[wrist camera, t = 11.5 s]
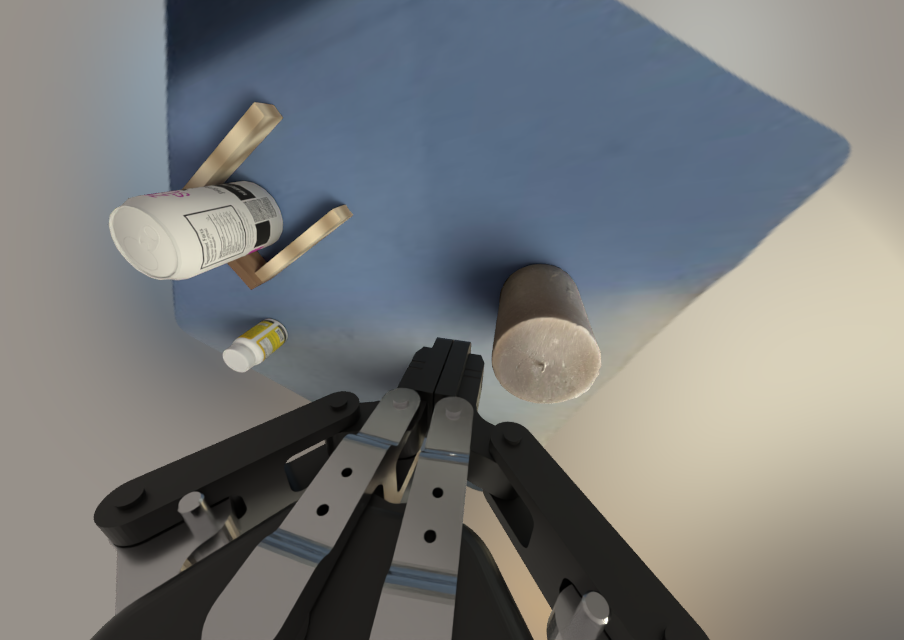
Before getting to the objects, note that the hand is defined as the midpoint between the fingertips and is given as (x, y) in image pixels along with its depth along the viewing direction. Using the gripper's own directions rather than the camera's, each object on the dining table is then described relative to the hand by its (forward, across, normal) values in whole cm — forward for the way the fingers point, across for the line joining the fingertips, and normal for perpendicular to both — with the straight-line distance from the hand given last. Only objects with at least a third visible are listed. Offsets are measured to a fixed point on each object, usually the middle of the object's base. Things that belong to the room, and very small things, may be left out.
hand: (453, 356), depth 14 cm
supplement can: (+27, +32, +2) cm, 42 cm away
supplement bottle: (+27, +34, +20) cm, 48 cm away
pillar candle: (+27, -6, +9) cm, 29 cm away
